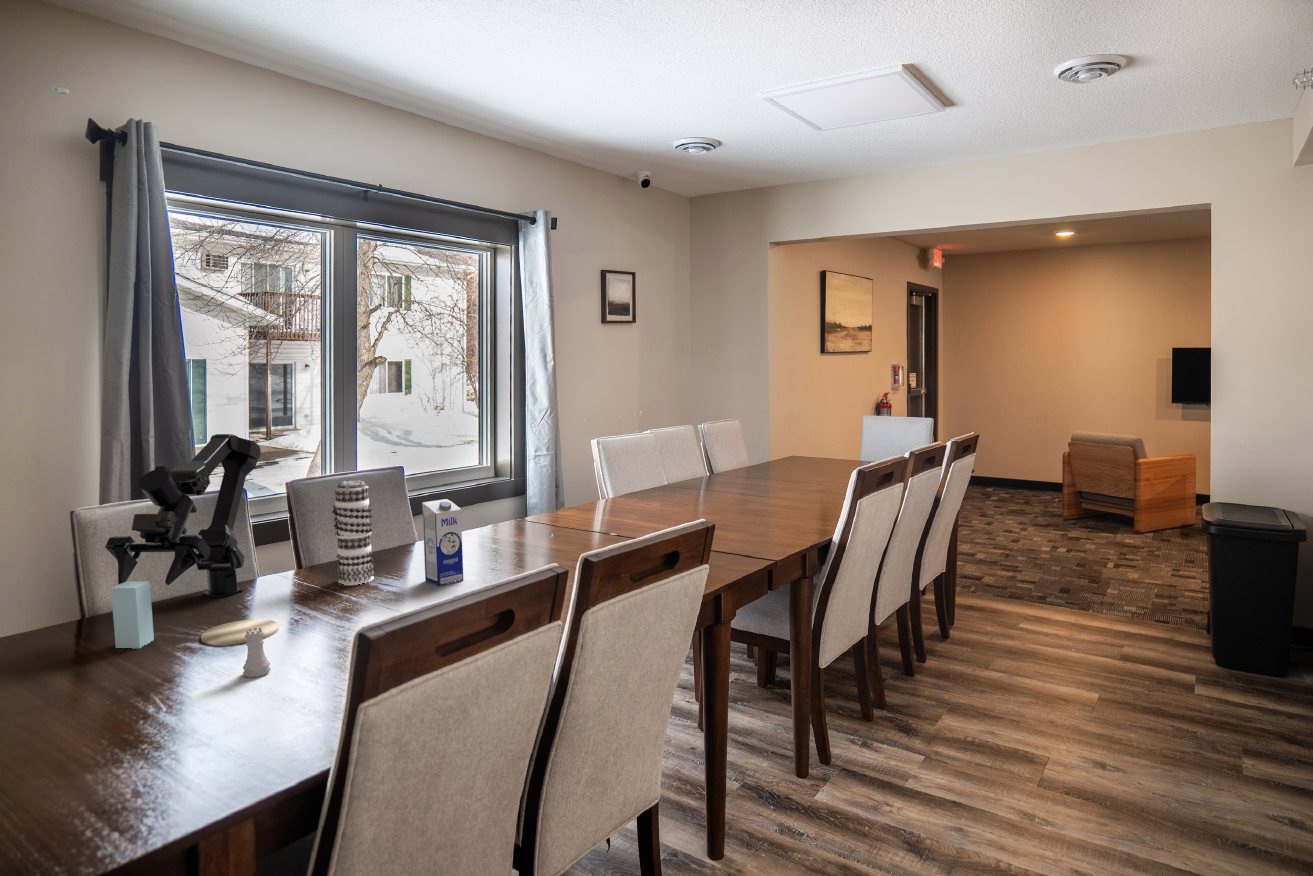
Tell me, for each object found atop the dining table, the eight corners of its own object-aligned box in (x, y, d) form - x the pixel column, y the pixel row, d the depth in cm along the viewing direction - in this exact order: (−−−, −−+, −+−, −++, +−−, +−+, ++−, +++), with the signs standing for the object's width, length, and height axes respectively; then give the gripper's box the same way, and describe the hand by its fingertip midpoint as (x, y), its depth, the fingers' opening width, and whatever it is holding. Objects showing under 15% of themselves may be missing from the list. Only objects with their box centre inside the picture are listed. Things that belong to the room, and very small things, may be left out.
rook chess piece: (249, 669, 146) (246, 626, 145) (274, 668, 146) (272, 625, 146) (238, 679, 142) (235, 634, 141) (265, 678, 142) (262, 633, 141)
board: (186, 638, 162) (185, 635, 162) (250, 618, 174) (250, 615, 174) (230, 650, 155) (230, 647, 155) (293, 628, 168) (293, 625, 168)
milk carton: (450, 575, 207) (447, 497, 205) (464, 580, 202) (461, 501, 200) (424, 581, 202) (421, 501, 200) (438, 586, 197) (435, 505, 195)
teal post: (130, 640, 162) (125, 581, 160) (154, 640, 162) (149, 581, 160) (115, 648, 157) (110, 588, 156) (139, 648, 157) (135, 587, 156)
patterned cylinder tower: (327, 583, 200) (322, 483, 198) (354, 574, 209) (350, 478, 206) (357, 587, 197) (352, 485, 194) (383, 577, 205) (378, 479, 203)
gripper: (107, 497, 166) (74, 564, 156) (199, 496, 166) (172, 562, 156) (133, 527, 174) (104, 592, 164) (221, 526, 175) (197, 591, 165)
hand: (143, 584), depth 162 cm, fingers open, 9 cm apart
